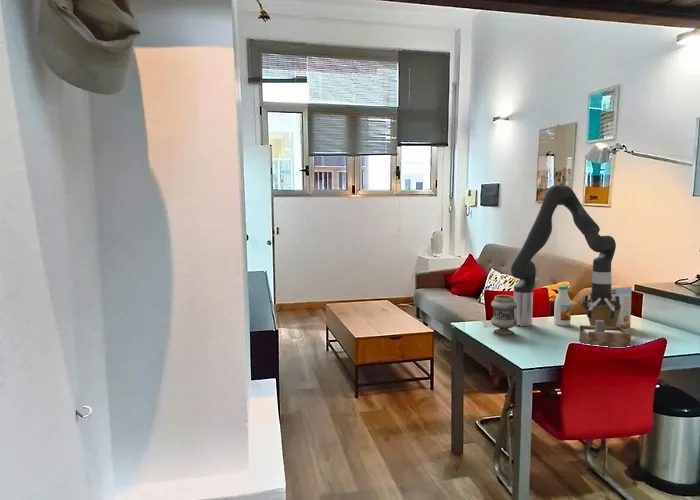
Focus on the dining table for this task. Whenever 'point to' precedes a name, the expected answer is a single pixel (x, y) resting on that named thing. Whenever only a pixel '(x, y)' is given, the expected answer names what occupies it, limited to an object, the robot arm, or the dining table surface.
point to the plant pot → (603, 314)
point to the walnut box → (605, 337)
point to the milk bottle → (562, 307)
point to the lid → (599, 327)
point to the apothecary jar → (504, 314)
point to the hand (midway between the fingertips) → (600, 318)
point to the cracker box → (623, 304)
